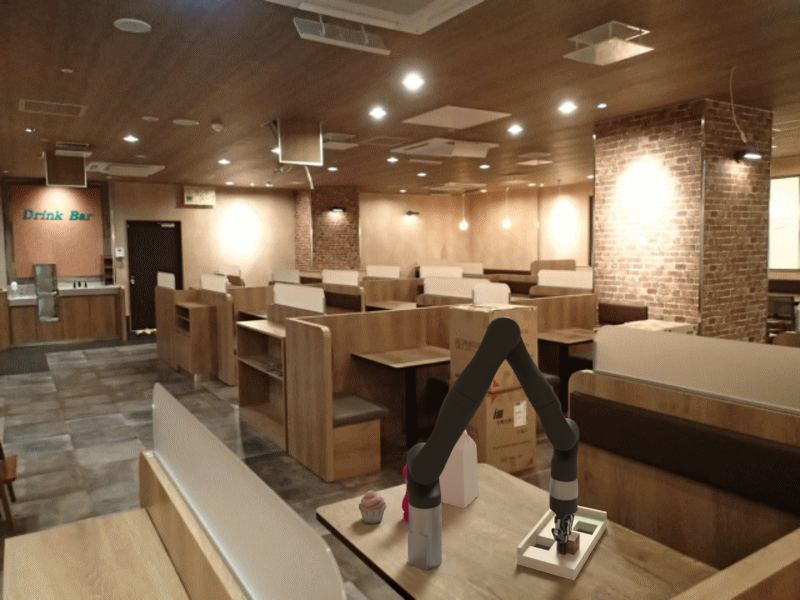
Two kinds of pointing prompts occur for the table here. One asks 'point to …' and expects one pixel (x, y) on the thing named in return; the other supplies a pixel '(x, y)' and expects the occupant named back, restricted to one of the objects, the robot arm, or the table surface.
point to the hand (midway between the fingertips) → (562, 553)
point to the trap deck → (542, 545)
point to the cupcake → (372, 507)
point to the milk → (460, 474)
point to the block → (573, 543)
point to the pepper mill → (405, 498)
